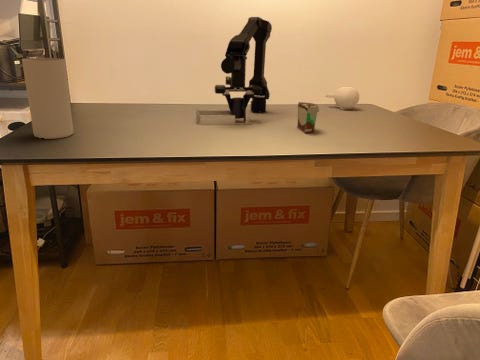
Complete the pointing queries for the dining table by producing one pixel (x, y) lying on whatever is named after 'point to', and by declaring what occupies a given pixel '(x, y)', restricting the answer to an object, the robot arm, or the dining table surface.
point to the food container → (307, 117)
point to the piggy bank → (345, 97)
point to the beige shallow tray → (218, 117)
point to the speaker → (238, 107)
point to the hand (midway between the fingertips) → (237, 110)
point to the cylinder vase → (48, 97)
